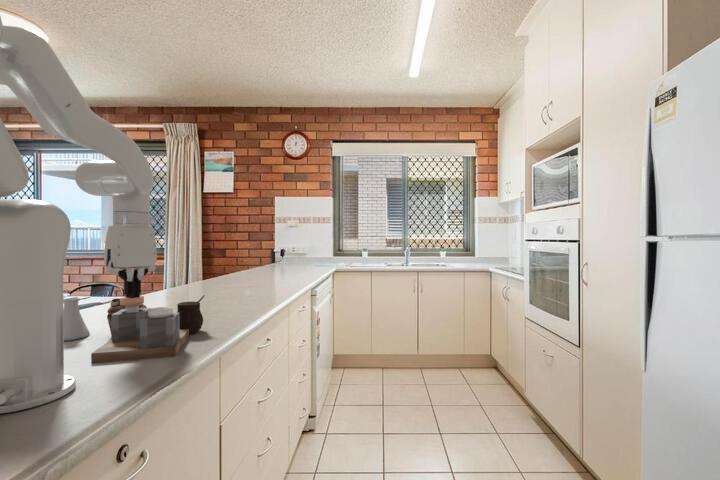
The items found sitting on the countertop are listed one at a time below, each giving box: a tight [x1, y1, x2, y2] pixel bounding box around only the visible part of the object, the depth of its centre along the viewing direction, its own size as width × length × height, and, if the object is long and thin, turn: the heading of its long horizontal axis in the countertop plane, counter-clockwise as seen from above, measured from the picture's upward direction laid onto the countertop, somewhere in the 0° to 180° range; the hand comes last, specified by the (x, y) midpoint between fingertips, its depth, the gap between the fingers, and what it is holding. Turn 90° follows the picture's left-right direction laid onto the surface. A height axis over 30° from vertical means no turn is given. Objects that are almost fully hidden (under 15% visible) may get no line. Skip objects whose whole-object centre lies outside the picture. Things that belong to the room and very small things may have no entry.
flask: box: [63, 297, 91, 342], centre depth 91 cm, size 7×7×10 cm
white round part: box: [148, 306, 174, 318], centre depth 80 cm, size 5×5×6 cm
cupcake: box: [106, 295, 148, 337], centre depth 95 cm, size 10×10×10 cm
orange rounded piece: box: [119, 295, 145, 313], centre depth 85 cm, size 5×5×6 cm
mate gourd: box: [176, 295, 206, 335], centre depth 96 cm, size 7×8×10 cm
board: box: [90, 307, 190, 364], centre depth 82 cm, size 16×16×8 cm
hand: (132, 297), depth 85 cm, fingers closed
